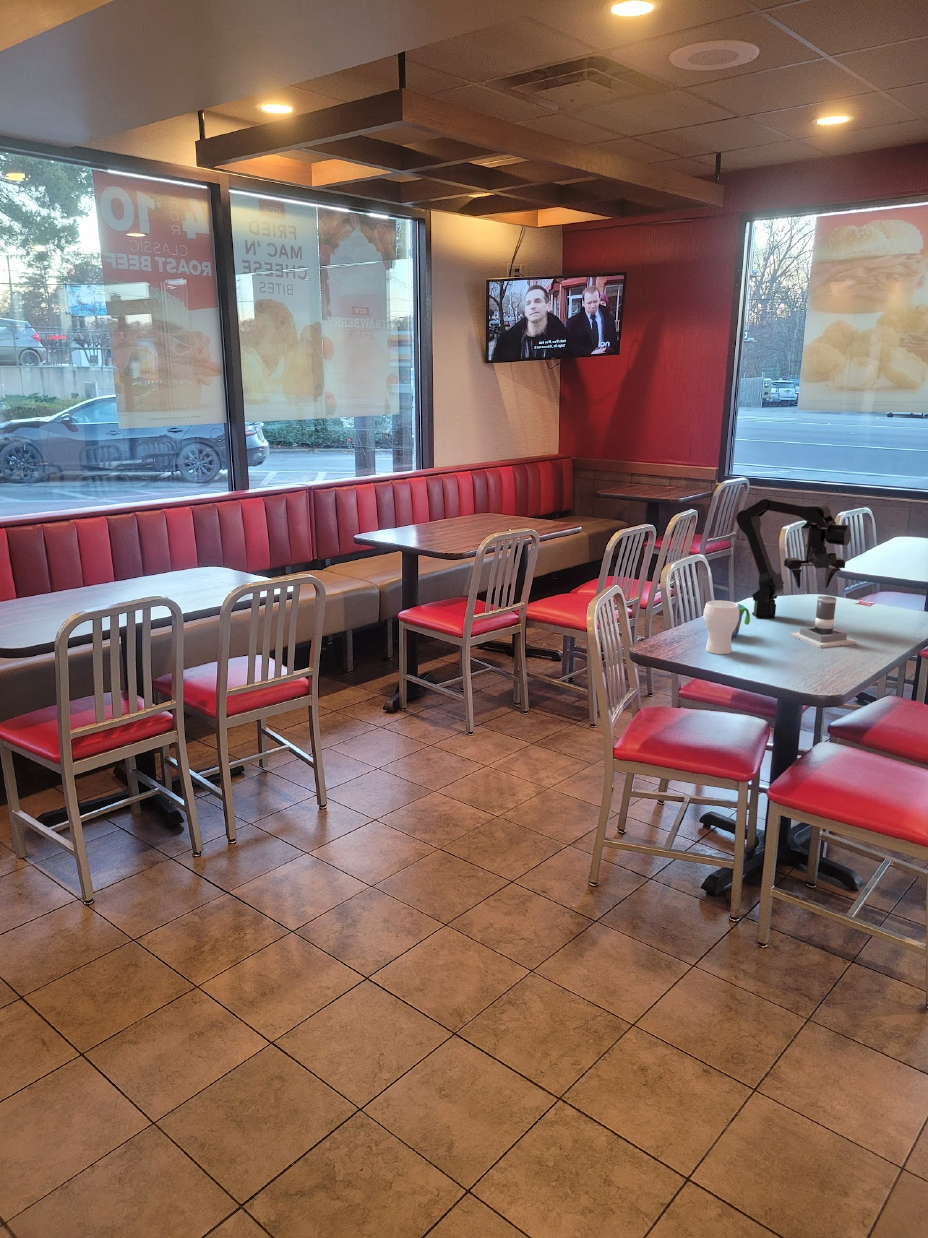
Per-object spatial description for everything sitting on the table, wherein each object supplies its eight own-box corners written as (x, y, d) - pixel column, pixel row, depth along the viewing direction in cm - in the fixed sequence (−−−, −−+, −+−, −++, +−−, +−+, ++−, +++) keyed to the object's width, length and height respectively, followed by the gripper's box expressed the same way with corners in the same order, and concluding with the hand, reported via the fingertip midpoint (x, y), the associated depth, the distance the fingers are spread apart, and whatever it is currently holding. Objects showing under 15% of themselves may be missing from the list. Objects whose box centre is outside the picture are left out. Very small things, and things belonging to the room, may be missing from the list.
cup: (712, 657, 274) (715, 609, 270) (694, 647, 283) (697, 601, 279) (742, 654, 276) (747, 607, 272) (724, 644, 286) (728, 598, 282)
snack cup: (741, 630, 302) (743, 600, 300) (755, 639, 292) (758, 608, 290) (697, 631, 300) (699, 602, 298) (709, 640, 290) (711, 610, 288)
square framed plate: (790, 636, 295) (791, 627, 295) (825, 632, 300) (826, 623, 299) (819, 648, 283) (820, 638, 282) (855, 643, 287) (856, 634, 286)
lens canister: (812, 637, 290) (816, 598, 287) (815, 633, 295) (819, 595, 291) (830, 640, 287) (834, 601, 284) (833, 635, 292) (837, 597, 288)
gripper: (796, 546, 293) (792, 593, 297) (854, 546, 293) (849, 592, 297) (785, 541, 304) (781, 586, 308) (840, 540, 304) (836, 585, 308)
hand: (812, 587), depth 305 cm, fingers open, 9 cm apart
